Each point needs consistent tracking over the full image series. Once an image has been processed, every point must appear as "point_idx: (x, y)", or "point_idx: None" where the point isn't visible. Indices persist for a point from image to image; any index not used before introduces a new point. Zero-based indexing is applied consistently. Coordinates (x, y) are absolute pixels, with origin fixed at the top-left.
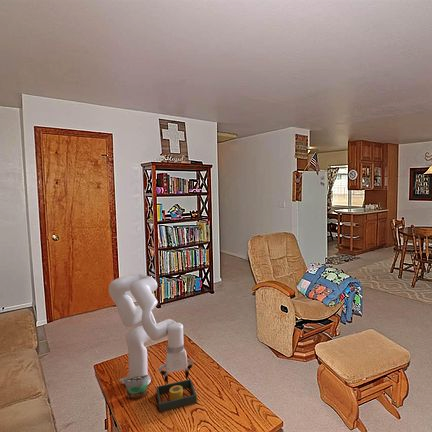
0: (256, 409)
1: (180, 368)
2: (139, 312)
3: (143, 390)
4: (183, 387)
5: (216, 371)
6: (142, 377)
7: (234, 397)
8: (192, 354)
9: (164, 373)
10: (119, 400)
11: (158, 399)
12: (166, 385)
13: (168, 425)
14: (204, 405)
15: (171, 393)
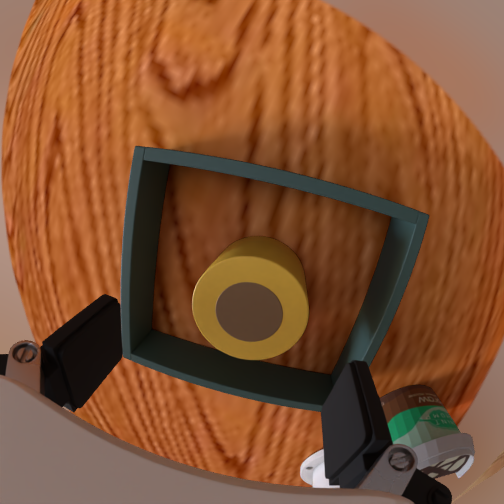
0: (35, 25)
1: (60, 469)
2: None
3: (402, 414)
4: (184, 344)
5: (43, 339)
6: None
7: (30, 111)
8: None
9: (406, 487)
10: (457, 401)
11: (402, 289)
12: (284, 398)
13: (391, 58)
14: (137, 102)
15: (303, 287)
